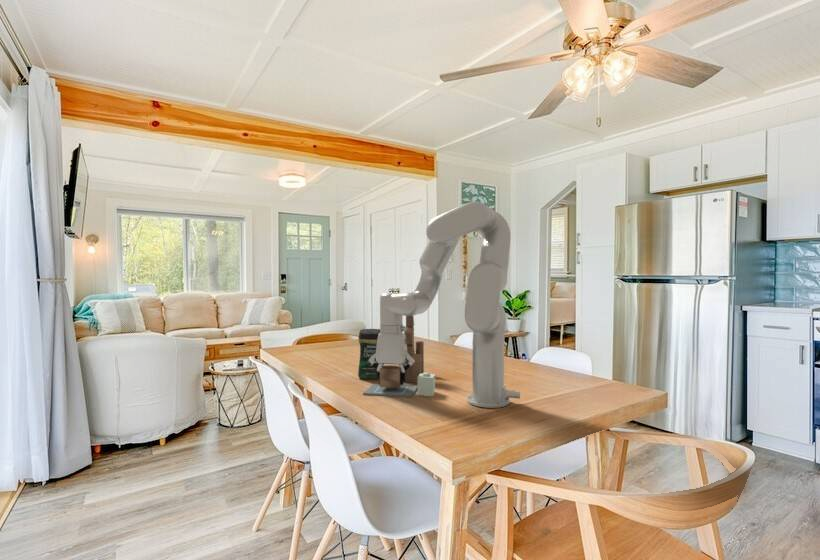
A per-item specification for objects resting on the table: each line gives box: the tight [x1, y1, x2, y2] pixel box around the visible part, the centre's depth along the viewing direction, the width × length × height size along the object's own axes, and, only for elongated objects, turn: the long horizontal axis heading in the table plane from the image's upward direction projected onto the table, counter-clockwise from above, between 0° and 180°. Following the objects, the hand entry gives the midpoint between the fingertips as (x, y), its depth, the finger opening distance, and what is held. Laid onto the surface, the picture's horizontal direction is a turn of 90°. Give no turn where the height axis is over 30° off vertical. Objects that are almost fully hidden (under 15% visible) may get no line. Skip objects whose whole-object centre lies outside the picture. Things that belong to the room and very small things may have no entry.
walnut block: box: [380, 364, 401, 388], centre depth 141 cm, size 6×6×6 cm
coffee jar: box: [357, 328, 380, 380], centre depth 160 cm, size 10×8×19 cm
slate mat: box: [362, 383, 418, 398], centre depth 142 cm, size 16×12×1 cm
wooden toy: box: [403, 316, 425, 383], centre depth 160 cm, size 15×7×25 cm, turn 175°
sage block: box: [417, 372, 436, 397], centre depth 138 cm, size 5×5×7 cm
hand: (391, 382), depth 142 cm, fingers closed on walnut block, 6 cm apart
